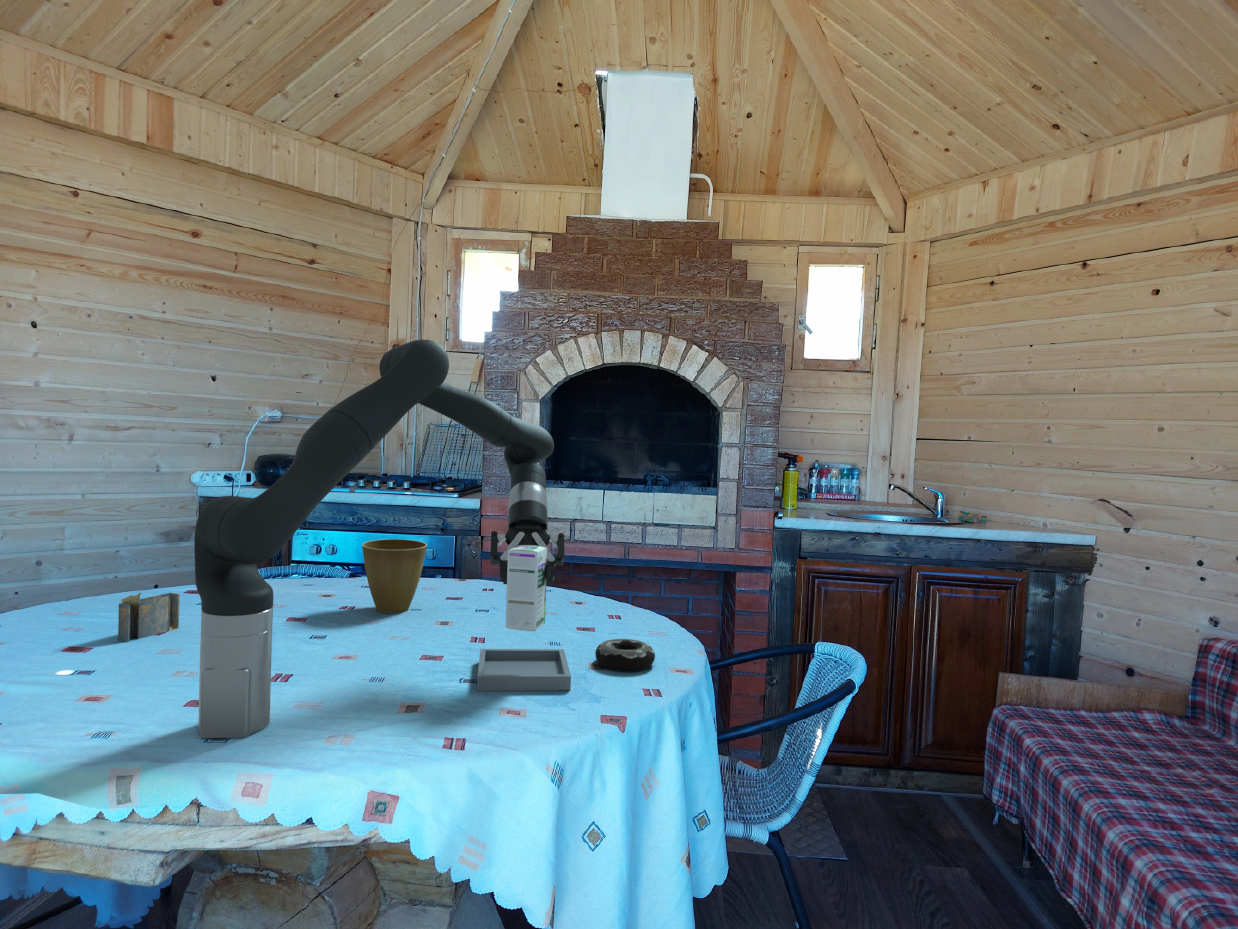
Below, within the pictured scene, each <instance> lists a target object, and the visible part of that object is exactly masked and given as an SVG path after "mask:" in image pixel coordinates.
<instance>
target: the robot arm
mask: <svg viewBox="0 0 1238 929" xmlns="http://www.w3.org/2000/svg"><path fill="white" fill-rule="evenodd" d="M449 370H450V361H449V356H448V354H447V351H446V350H445V348H444V346H442V345H441V344H440V343H438V342H436V341H434V340H431V339H422V338H421V339H415V340H411V341H409V342H406V343H403V344H400V345H397V346H395V347H393V348H391V349H389V350H388V351H386V352H385V353H384V354H383V355H382V357H381V358H380V360H379V374H380V377H379V378H378V379H377V380H376V381H373V382H372V383H370V384H368V385H367V386H365V387H364V388H361V389H360V390H358V391H356V392H354V393H353V394H351V395H350V396H347V397H346V398H344V399H343V400H342V401H340V402H338V403H337V404H335V405H334V406H333V407H331V408H330V409H328V410H327V411H326V412H325V413H324V414H323V415H322V416H320V417H319V418H318V419H317V420H316V421H315V422H314V423H312V424H311V426H310V427H309V428H308V429H307V430H306V431H305V432H304V434H303V435H302V436H301V439H300V440H299V443H298V445H297V448H296V451H295V454H294V457H293V460H292V462H291V464H290V466H289V467H288V469H287V470H286V471H285V473H283V475H282V476H281V477H280V478H278V479H277V480H276V481H275V482H274V483H273V484H272V485H271V486H270V487H268V488H267V489H266V490H264V491H263V492H262V493H260V494H259V495H257V496H255V497H254V498H252V497H245V496H237V495H221V496H218V497H216V498H213V499H212V500H210V501H209V502H207V503H206V504H205V505H204V506H203V508H202V509H201V511H200V512H199V515H198V516H197V519H196V524H195V528H194V538H193V540H194V543H193V544H194V546H193V548H194V550H193V551H194V576H195V578H194V579H195V587H196V591H197V593H198V595H199V597H200V603H201V604H200V606H201V607H200V610H201V612H200V613H201V614H200V616H201V617H200V644H199V645H200V649H199V678H198V680H199V685H198V723H197V724H198V725H197V730H198V732H199V738H200V739H217V738H218V739H219V738H221V739H222V738H223V739H224V738H226V739H227V738H235V739H236V738H238V739H239V738H247V737H249V735H251V734H253V733H256V732H258V731H261V730H263V729H265V728H266V727H267V726H268V725H269V724H270V720H271V718H270V717H271V696H272V695H271V691H272V690H271V688H272V687H271V686H272V658H273V655H272V654H273V653H272V652H273V649H272V647H273V624H274V623H273V620H274V616H273V615H274V590H273V587H272V586H271V585H270V584H269V583H268V582H267V581H266V580H265V578H263V577H262V575H261V573H260V572H259V569H258V565H257V564H261V563H264V562H266V561H268V560H271V559H272V558H273V557H274V556H276V555H277V554H278V553H279V552H280V551H281V550H282V549H283V548H284V546H285V545H286V544H287V543H288V542H289V540H291V538H293V536H294V534H296V532H297V531H298V529H299V528H300V527H301V526H302V524H304V522H305V521H306V519H307V518H308V516H310V515H311V513H312V512H313V511H314V510H315V509H316V507H317V506H318V505H319V504H320V503H321V502H322V500H324V499H325V497H326V496H327V495H328V494H329V493H331V492H332V490H333V489H335V487H336V486H337V485H338V484H339V483H340V482H341V481H342V480H343V479H344V478H345V477H346V476H347V475H348V474H349V473H350V472H351V471H353V469H355V468H356V467H357V466H358V464H360V463H361V462H362V461H363V460H364V459H365V458H366V457H367V456H368V455H369V453H371V452H372V450H373V449H374V448H375V447H376V446H377V445H378V444H379V443H380V442H381V441H382V440H383V439H384V438H385V436H387V434H389V432H390V431H391V430H392V429H393V428H394V427H395V426H396V425H397V424H398V423H399V422H400V421H401V419H402V418H404V416H405V415H406V414H407V413H408V412H410V410H411V409H412V408H414V407H415V406H416V405H417V404H420V405H422V406H424V407H425V408H428V409H430V410H433V412H436V413H439V414H441V415H442V416H444V417H446V418H449V419H451V420H453V421H454V422H456V423H458V424H460V425H461V426H463V427H465V428H466V429H468V430H469V431H471V432H472V433H474V434H475V435H477V436H479V437H480V438H481V439H483V440H484V441H485V442H488V443H489V444H491V445H493V446H495V447H496V448H504V451H503V456H504V460H505V462H506V466H507V468H508V472H509V475H510V476H509V477H510V492H509V493H510V494H509V498H508V508H507V512H508V517H507V531H506V533H498V532H497V531H496V530H492V531H491V532H490V560H489V562H490V564H491V565H492V566H495V565H497V566H499V581H500V582H502V585H507V566H508V550H510V549H513V548H515V547H517V546H519V545H535V546H542V547H546V548H547V567H546V586H551V583H554V581H555V568H556V567H562V566H564V561H565V534H564V532H559V533H558V535H553V534H552V535H550V533H549V531H548V526H549V525H548V496H547V481H546V480H547V477H546V471H545V469H544V468H543V466H542V465H540V464H538V463H540V462H542V461H543V460H546V459H547V458H549V457H550V456H551V455H552V454H553V452H554V449H555V443H554V439H553V437H552V435H551V434H550V433H549V432H548V431H547V430H546V429H545V428H544V427H542V426H540V425H538V424H536V423H534V422H531V421H529V420H528V421H527V420H525V419H522V418H518V417H515V416H513V415H511V414H509V412H507V411H505V410H504V409H503V408H501V407H500V406H498V404H496V403H494V402H492V401H491V400H488V399H487V398H486V397H483V396H480V395H478V394H475V393H471V392H469V391H466V390H463V389H460V388H457V387H455V386H452V385H451V384H448V383H446V382H445V381H446V378H447V376H448V375H449ZM503 542H505V543H506V544H507V545H508V546H507V547H506V550H504V552H503V553H502V555H500V554H498V547H500V546H502V544H503ZM550 543H551V544H552V545H553V547H554V548H555V549H556V555H555V556H554V555H553V554H552V553H551V551H550V548H549V547H548V545H549V544H550Z"/></svg>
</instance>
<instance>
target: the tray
mask: <svg viewBox="0 0 1238 929" xmlns="http://www.w3.org/2000/svg"><path fill="white" fill-rule="evenodd" d="M568 663H569V662H568V660H567V656H566V653H565V649H564V648H557V649H556V648H480V650H479V657H478V667H477V668H478V669H477V677H476V692H514V691H515V692H517V691H518V692H533V691H534V692H539V691H540V692H544V691H547V692H548V691H549V692H551V691H552V692H553V691H554V692H555V691H556V692H559V691H558V690H570V691H571V687H572V686H571V683H572V682H571V680H572V675H571V671H570V666H569V665H568Z"/></svg>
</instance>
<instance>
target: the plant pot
mask: <svg viewBox="0 0 1238 929" xmlns="http://www.w3.org/2000/svg"><path fill="white" fill-rule="evenodd" d="M361 546H362V556H363V564H364V568H365V574H366V579H367V583H368V588H369V591H370V594H371V597H372V601H373V603H374V606H375V609H376V611H378V612H380V613H382V614H383V613H384V614H398V613H404V612H406V611H408V610H409V609H410V606H411V604H412V601H413V599H414V597H415V594H416V591H417V589H418V586H419V582H420V579H421V576H422V572H423V568H424V563H425V559H426V558H425V557H426V553H427V547H428V544H427V543H426V542H423V541H419V540H416V539H415V540H414V539H404V538H403V539H402V538H383V539H375V540H374V539H373V540H368V541H365V542H363V543H362V544H361Z"/></svg>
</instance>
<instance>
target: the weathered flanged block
mask: <svg viewBox="0 0 1238 929" xmlns="http://www.w3.org/2000/svg"><path fill="white" fill-rule="evenodd" d="M141 595H142V592H139V593H138V594H134V595H133V594H131V595H129V596H127V597H124V598H121V601H120V603H118V617H117V618H118V620H117V621H118V623H117V627H118V629H117V641H119V640H120V641H119V642H124V643H129V642H130V638H135V637H136V638H137V640H141V639H144V638H148V637H151V636H156V635H159V634H158V633H160V634H162V633H161V632H163V633H167V632H171V631H174V630H179V629H180V602H181V601H180V600H181V599H180V598H181V597H180V595H181V594H180V593H177V592H176V593H175V592H167V593H162V594H156V595H153V596H152V595H151V596H149V597H143V598H141ZM155 634H156V635H155ZM140 638H141V639H140Z"/></svg>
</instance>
